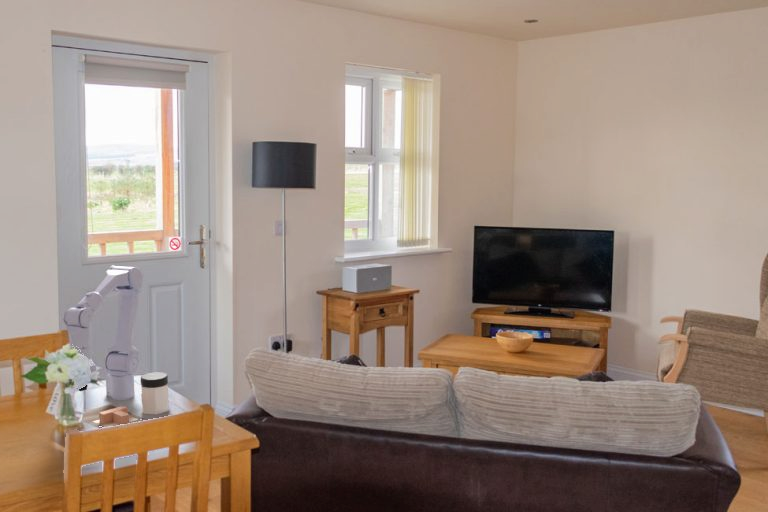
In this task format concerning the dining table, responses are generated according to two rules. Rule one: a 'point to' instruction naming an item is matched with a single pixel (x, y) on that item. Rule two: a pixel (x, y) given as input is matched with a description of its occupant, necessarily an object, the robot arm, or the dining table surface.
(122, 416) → the t block
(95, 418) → the board
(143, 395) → the jar
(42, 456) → the dining table surface
